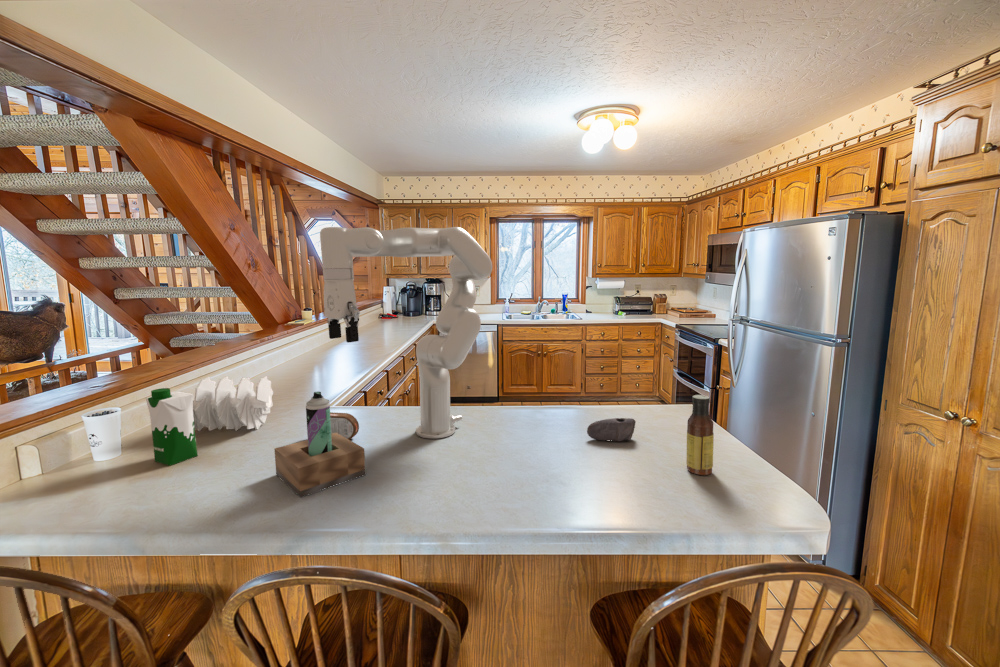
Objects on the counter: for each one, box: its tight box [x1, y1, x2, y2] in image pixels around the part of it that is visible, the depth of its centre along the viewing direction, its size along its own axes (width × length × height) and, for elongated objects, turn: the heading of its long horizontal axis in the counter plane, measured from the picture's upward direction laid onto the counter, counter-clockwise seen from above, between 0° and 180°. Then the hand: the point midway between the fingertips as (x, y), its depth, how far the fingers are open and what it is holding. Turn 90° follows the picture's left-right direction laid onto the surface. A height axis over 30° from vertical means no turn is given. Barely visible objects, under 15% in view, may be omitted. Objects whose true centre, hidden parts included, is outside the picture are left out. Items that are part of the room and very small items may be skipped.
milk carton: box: [145, 387, 198, 467], centre depth 118 cm, size 9×9×20 cm
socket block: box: [273, 433, 366, 498], centre depth 109 cm, size 16×16×7 cm
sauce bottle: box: [686, 394, 715, 476], centre depth 111 cm, size 7×6×20 cm
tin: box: [330, 411, 360, 441], centre depth 133 cm, size 15×3×8 cm, turn 84°
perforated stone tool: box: [586, 417, 636, 442], centre depth 133 cm, size 15×5×7 cm, turn 86°
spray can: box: [305, 391, 332, 457], centre depth 109 cm, size 6×6×20 cm
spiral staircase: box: [193, 375, 274, 432], centre depth 142 cm, size 18×18×25 cm
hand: (343, 339), depth 116 cm, fingers open, 9 cm apart
